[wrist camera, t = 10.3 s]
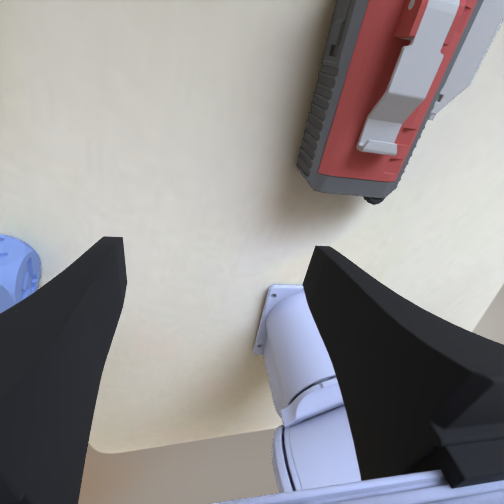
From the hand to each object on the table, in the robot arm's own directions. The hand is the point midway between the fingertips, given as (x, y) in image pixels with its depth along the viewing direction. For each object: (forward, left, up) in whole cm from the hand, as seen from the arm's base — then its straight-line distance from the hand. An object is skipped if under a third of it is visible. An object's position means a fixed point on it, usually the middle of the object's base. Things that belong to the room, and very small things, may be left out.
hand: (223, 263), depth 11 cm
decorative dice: (-8, +14, -11) cm, 19 cm away
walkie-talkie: (+9, -10, -11) cm, 17 cm away
